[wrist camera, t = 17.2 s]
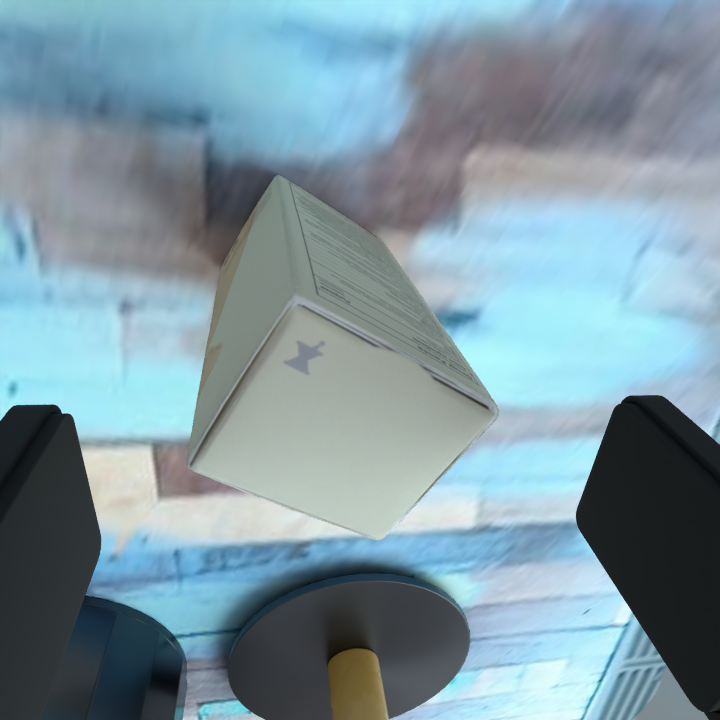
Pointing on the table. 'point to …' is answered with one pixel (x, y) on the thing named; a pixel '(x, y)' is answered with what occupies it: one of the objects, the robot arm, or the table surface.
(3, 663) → the robot arm
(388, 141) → the table surface
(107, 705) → the pot
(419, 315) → the box
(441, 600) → the lid
